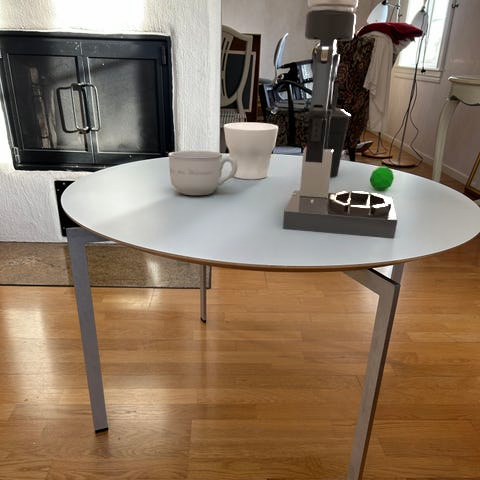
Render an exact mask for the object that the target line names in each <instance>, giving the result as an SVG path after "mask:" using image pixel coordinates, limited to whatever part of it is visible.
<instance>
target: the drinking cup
mask: <svg viewBox="0 0 480 480" xmlns="http://www.w3.org/2000/svg"><path fill="white" fill-rule="evenodd" d="M338 92H339V82H335V84H334V94H333V101H332V104H335V110H331V115H330V125H329V134H328V143H327V149H330V150H333V154H332V164H331V173H330V178H336V177H338V174H339V169H340V165H341V160H342V154H343V150H344V144H345V140H346V136H347V130H348V125H349V121H350V118H351V117H352V115H351V114H350V113H348V111H347V112H346V111H345V110H344V109H341V108H338V107H337V100H338Z"/></svg>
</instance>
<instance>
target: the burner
mask: <svg viewBox="0 0 480 480" xmlns="http://www.w3.org/2000/svg"><path fill="white" fill-rule="evenodd" d="M332 193H333V195H330V199H329V208H330V209H331V210H332V211H334V212H337V213H340V214H343V215H348V216H354V217H379V216H383V215H386V214H388V213H389V211H390V209H391V200H390V199H387V197H388V196H384V195H382V194H378V193H369V192H367V191H357V190H356V191H355V190H351V191H350V192H349V191H345V190H344V191H340V192H339V191H338V192H332ZM349 194H350V195H351V197H350V198H349ZM369 194H370V195H369ZM368 196H370V200H368Z"/></svg>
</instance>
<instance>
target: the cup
mask: <svg viewBox="0 0 480 480" xmlns="http://www.w3.org/2000/svg"><path fill="white" fill-rule="evenodd" d="M223 131H224V138H225V139H224V140H225V145H226V147H227V150H228V153H229V156H230V157H232V158H234V159H235V160H236V162H237V171H236V173H235V175H234V176H233V177H232V178H236V179H240V180H262V179H265V178H267V177H268V172H269V166H270V161H271V157H272V153H273V151H274V149H275V147H276V141H277V137H278V132H279V126H278V125H276V124H273V123H266V122H247V121H244V122H242V121H241V122H229V123H226V124H224V125H223ZM230 165H231V167H232V164H231V163H230Z"/></svg>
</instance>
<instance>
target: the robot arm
mask: <svg viewBox="0 0 480 480" xmlns="http://www.w3.org/2000/svg"><path fill="white" fill-rule="evenodd" d="M358 3H359V0H307V7H308V8H311V9H310V11H308V12H307V13H306V17H305V27H304V28H305V29H304V38H305V39H306V40H310V41H319V45H317V46H316V48H315V53H313V58H312V64H313V65H312V66H313V68H312V87H311V96H310V104H309V108H308V111H305V112H304V119H308V126H307V127H308V129H307V137H306V139H307V140H306V141H307V142H306V147H307V149H306V160H305V162H316V163H322V160H323V151H324V149H327V143H328V134H329V125H330V115H331V110H335V104H333V102H334V99H333V91H334V82H335V80H336V79H337V74H338V73H337V72H338V68H339V65H340V58H341V57H340V56H341V55H340V54H339V53H338V47H337V41H343V42H344V41H346V42H349V41H351V40H353V38H354V33H355V25H356V19H357V18H356V17H357V15H356V14H355V12H353V10H354V9H356V8H357V7H358Z"/></svg>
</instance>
